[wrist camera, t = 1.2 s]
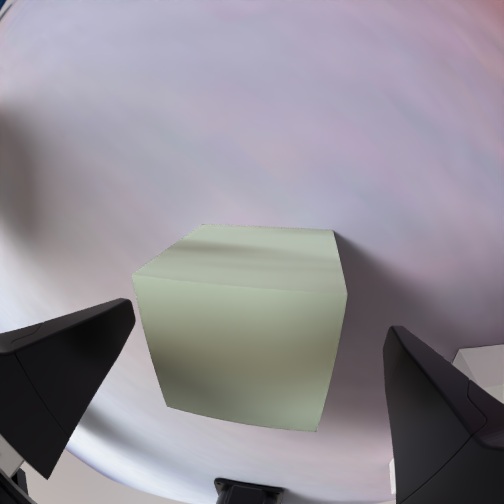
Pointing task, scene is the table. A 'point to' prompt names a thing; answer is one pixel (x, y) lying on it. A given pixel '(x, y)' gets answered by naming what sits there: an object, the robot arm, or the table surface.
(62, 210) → the table surface
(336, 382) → the table surface
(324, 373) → the sage cube
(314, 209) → the table surface
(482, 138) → the table surface
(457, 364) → the white block
